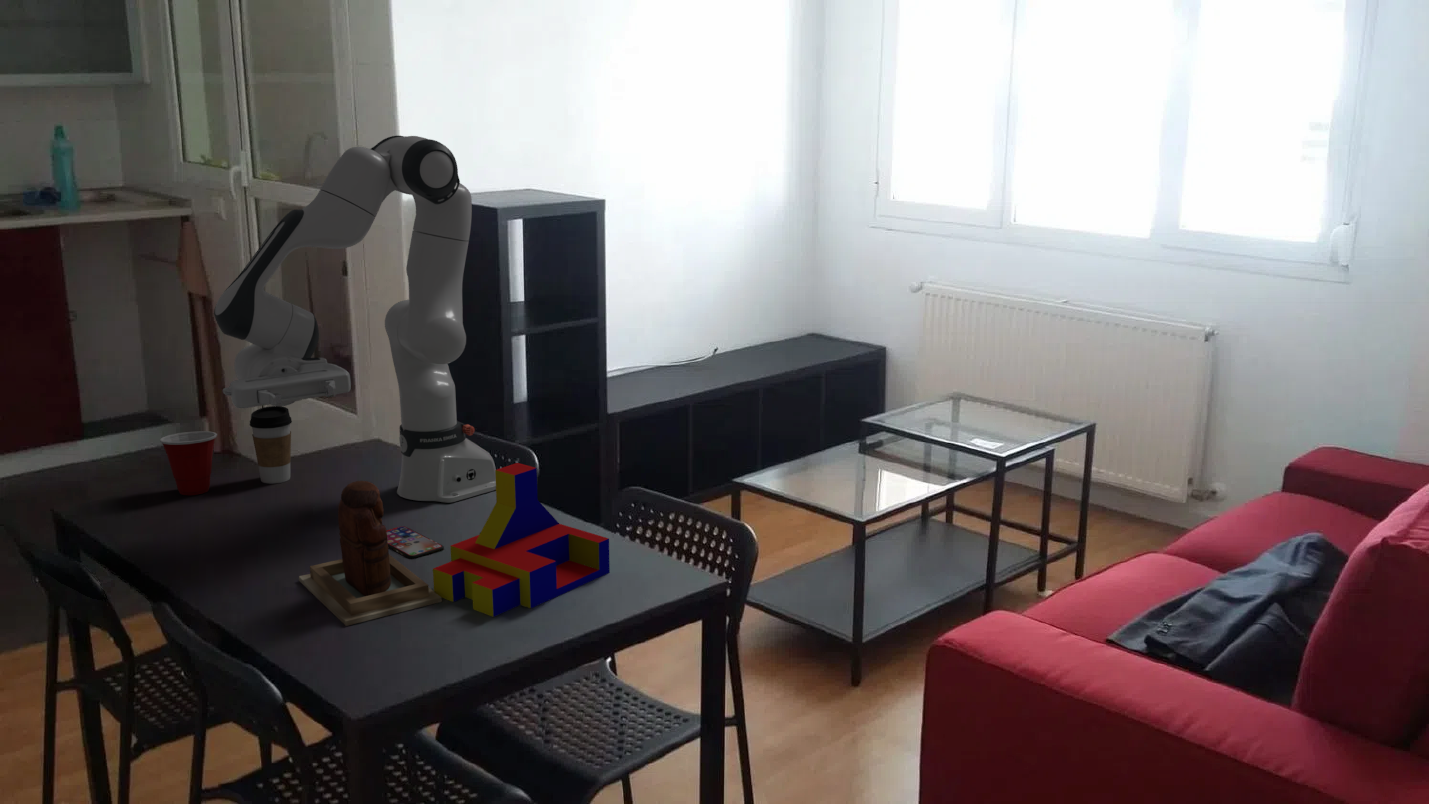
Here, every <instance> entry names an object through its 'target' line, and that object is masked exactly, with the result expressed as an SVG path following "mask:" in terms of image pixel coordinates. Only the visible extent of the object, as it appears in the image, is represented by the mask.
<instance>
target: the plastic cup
mask: <svg viewBox="0 0 1429 804" xmlns="http://www.w3.org/2000/svg"><path fill="white" fill-rule="evenodd" d="M217 436H218V433H216V432H215V431H214V432H213V431H207V430H206V431H204V430H203V431H202V430H201V431H199V430H198V431H197V430H196V431H187V432H178V433H172V434H168V435H166V436H162V437H161V438H160V439H159V442H160V443H161V444H162V446H163V448H164V450H165V453H166V455H167V459H168V462H169V466H170V469H171V474H172V475H173V478H174V480H175V484H176V485H175V486H176V488H177V491H178V493H179V494H180V495H183V496H198V495H203V494H205V493H208V492H209V491H210V486H211V475H212V468H213V465H212V464H213V453H214V448H215V441H216V438H217Z"/></svg>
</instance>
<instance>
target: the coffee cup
mask: <svg viewBox="0 0 1429 804" xmlns="http://www.w3.org/2000/svg"><path fill="white" fill-rule="evenodd" d="M292 422H293V421H292V417H291V416H290V411H289V408H288V407H287V406H272V405H271V406H270V405H269V406H264V407H261V408H258V409H256V410H254V411H253V412H252V413H251V414H250V420H249V426H250V427H251V430H252V434H251V436H252V441H253V445H254V450H255V451H254V452H255V456H256V462H257V466H258V471H259V477H260V481H261V482H262V483H264V484H268V485H269V484H271V485H272V484H273V485H274V484H280V483H285V482H287V481H289V480H290V479H291V462H292V461H291V460H292V459H291V455H292V453H291V452H292V451H291V450H292V449H291V447H292V431H291V424H292Z"/></svg>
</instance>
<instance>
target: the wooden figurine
mask: <svg viewBox="0 0 1429 804" xmlns="http://www.w3.org/2000/svg"><path fill="white" fill-rule="evenodd" d="M383 503H384V502H383V501H382V499H381V493H380V490H379V488H378V487H377V485H376V484H374V483H372V482H370V481H367V480H356V481H353V482H350V483H348V484H347V485H346V486H345V487H344V488H343V490H342V491H341V494H340V500H339V503H338V508H337V516H338V517H337V521H338V523H337V524H338V529H339V533H338V534H339V537H340V538H339V546H340V550H341V551H340V552H341V559H342V561H343V567H344V573H345V579H346V581H347V583H348V584H350V585H351V586H353V587H354V588H355V589H356V590H358V591H359V592H360V593H361V594H363V595H364V596H369V595H373V594H377V593H381V592H385V591H386V590H387V589H389V587H390V585H391V576H390V562H389V555H390V552H389V548H388V543H387V542H388V540H387V531H386V530H387V527H386V525H385V524H383V519H382V518H383V517H384V511H385V509H384V506H383V505H384V504H383Z"/></svg>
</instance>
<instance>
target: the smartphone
mask: <svg viewBox="0 0 1429 804" xmlns="http://www.w3.org/2000/svg"><path fill="white" fill-rule="evenodd" d="M386 531H387V540H388V542H387V543H388V549H390V550H392V551H394V552H396V553H398V554H400V555H401V556H403V557H405V558H407V559H410V560H415V559H419V558H422V557H425V556H427V555H428V554H429V555H432V554H433V555H434V554H436V553H439V552H443V551H444V550H445V546H444V545H443V544H441V543H438V542H436V541H435V540H433V539H430V538H429V537H426V536H425V535H422V533H418V532H417V531H414V530H413V529H411V528H410V527H408V526H405V525H404V526H402V525H401V526H397V527H393V528H391V529H386Z"/></svg>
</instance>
